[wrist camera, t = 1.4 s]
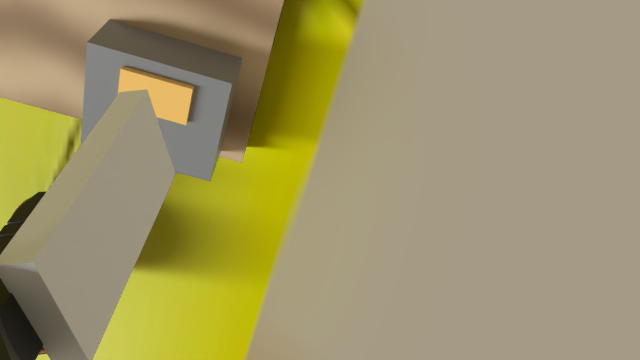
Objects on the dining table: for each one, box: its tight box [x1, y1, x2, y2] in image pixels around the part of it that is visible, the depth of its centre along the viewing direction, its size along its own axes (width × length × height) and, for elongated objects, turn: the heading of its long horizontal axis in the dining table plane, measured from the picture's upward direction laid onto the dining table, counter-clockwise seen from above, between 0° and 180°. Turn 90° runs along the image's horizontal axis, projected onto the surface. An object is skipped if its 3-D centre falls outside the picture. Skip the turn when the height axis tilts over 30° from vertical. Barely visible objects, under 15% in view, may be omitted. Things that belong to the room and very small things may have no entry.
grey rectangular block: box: [81, 19, 242, 181], centre depth 35 cm, size 7×8×4 cm
